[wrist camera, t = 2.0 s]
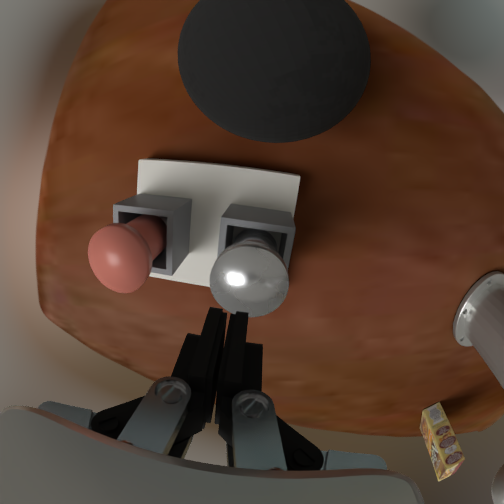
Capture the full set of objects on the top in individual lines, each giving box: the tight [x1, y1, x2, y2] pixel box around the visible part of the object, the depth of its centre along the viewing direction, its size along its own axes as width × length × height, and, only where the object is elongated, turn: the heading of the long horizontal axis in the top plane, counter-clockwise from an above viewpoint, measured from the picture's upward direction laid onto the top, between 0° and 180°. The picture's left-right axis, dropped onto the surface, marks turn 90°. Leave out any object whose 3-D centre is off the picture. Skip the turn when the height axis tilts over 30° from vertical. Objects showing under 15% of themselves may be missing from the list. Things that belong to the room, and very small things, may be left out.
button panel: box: [113, 158, 300, 287], centre depth 24 cm, size 15×12×7 cm
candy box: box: [420, 402, 465, 481], centre depth 31 cm, size 9×4×15 cm, turn 23°
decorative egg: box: [178, 0, 371, 143], centre depth 15 cm, size 12×12×15 cm
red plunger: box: [88, 214, 167, 293], centre depth 19 cm, size 5×5×6 cm
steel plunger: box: [210, 228, 289, 317], centre depth 19 cm, size 5×5×6 cm
